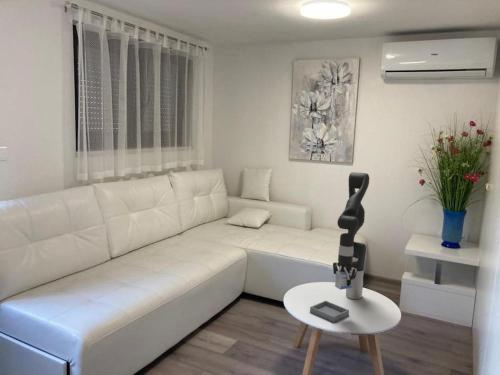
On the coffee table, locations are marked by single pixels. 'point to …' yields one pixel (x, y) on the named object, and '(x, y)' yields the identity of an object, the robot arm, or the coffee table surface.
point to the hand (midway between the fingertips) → (343, 284)
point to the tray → (329, 311)
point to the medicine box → (342, 280)
